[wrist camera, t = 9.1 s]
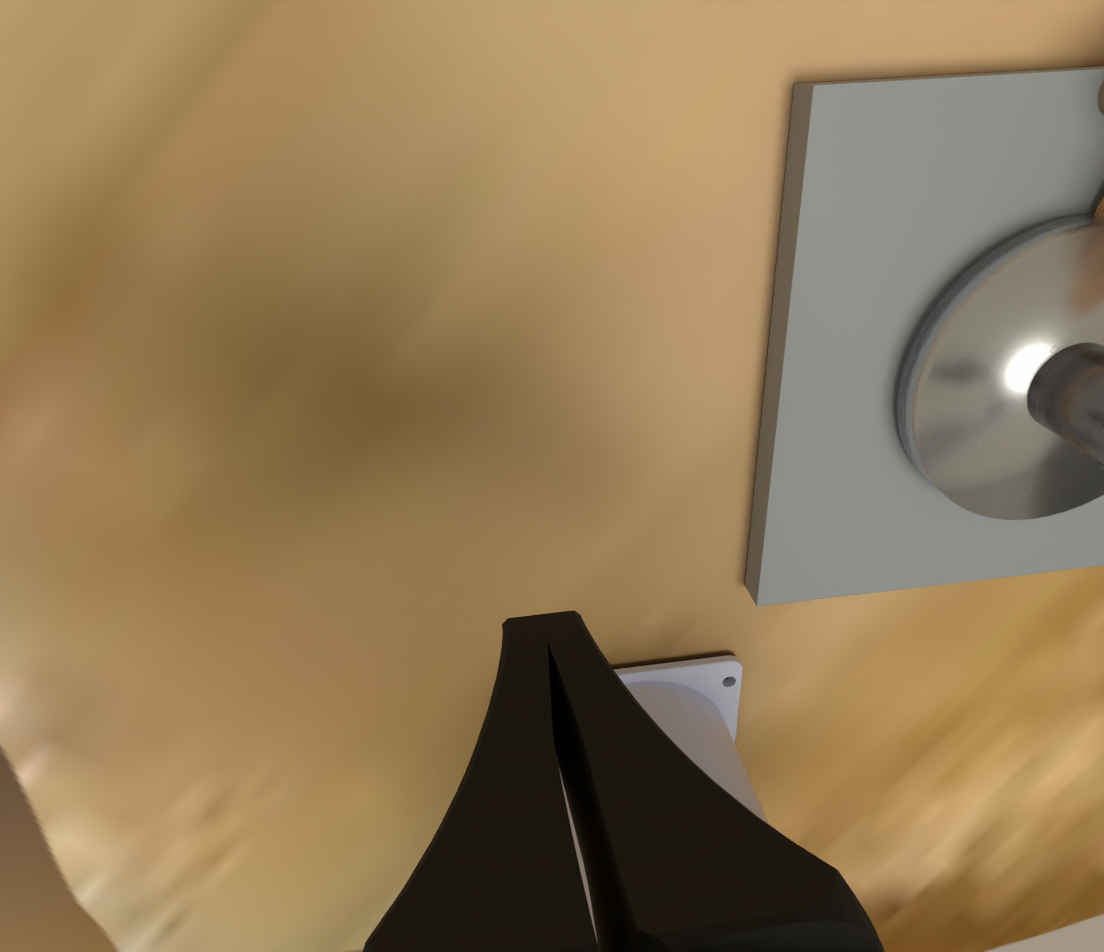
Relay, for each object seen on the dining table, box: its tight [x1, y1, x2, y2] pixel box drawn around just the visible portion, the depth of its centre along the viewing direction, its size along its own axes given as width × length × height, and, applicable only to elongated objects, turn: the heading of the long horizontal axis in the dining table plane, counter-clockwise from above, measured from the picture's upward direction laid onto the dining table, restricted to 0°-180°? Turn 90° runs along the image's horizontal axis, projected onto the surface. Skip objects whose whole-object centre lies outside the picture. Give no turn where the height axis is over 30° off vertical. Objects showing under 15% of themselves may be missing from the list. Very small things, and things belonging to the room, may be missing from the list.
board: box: [745, 66, 1104, 606], centre depth 24 cm, size 16×18×1 cm
